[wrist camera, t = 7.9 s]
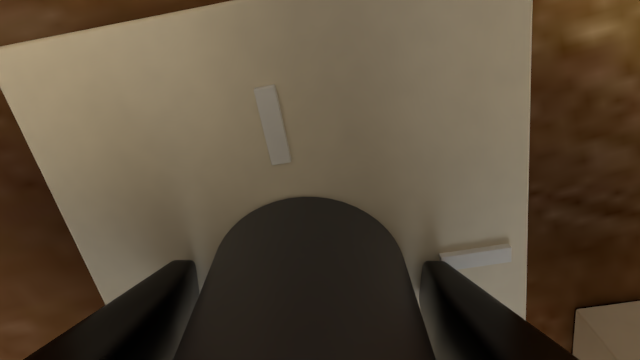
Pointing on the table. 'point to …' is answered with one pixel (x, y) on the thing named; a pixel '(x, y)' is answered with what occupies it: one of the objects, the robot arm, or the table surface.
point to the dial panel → (287, 129)
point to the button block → (608, 332)
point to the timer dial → (307, 290)
